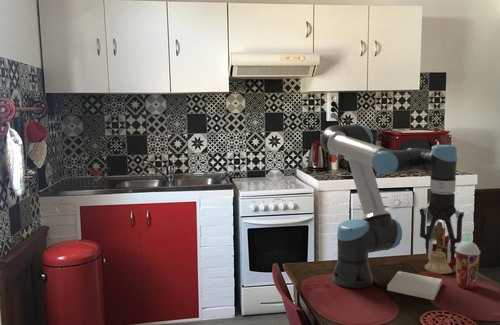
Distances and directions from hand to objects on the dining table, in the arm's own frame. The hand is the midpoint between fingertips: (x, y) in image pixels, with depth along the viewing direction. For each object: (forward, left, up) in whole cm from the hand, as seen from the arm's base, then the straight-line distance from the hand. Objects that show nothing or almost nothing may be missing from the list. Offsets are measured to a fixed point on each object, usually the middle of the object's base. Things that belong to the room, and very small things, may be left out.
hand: (439, 259), depth 141 cm
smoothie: (+6, +22, -16) cm, 28 cm away
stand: (-10, +11, -16) cm, 22 cm away
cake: (-4, +34, -16) cm, 38 cm away
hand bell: (0, -3, -3) cm, 4 cm away
